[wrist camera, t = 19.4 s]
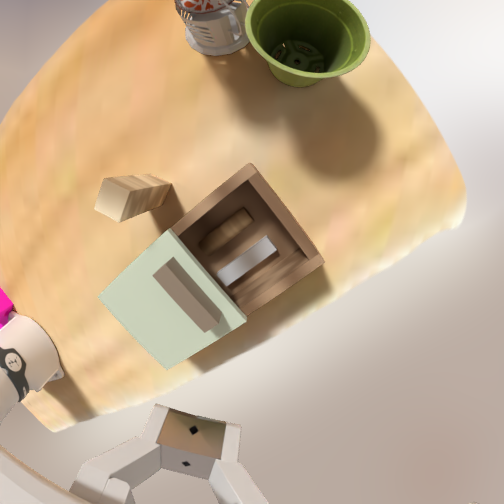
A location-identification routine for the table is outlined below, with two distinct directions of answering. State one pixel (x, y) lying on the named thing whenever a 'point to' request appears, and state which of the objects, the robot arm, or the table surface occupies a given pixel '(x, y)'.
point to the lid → (171, 302)
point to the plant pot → (308, 38)
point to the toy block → (4, 308)
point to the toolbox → (248, 240)
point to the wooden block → (131, 195)
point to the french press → (214, 25)
